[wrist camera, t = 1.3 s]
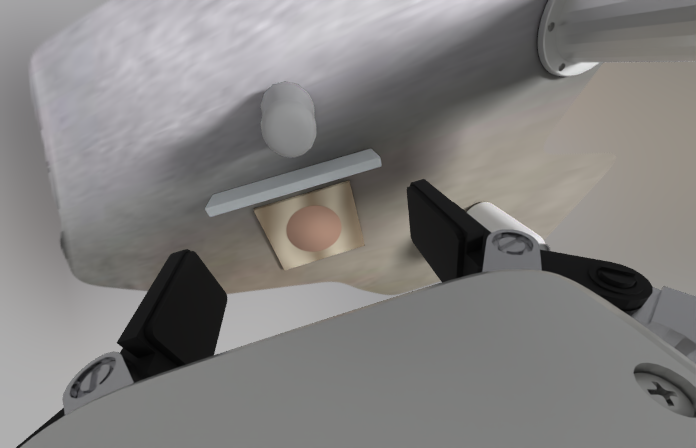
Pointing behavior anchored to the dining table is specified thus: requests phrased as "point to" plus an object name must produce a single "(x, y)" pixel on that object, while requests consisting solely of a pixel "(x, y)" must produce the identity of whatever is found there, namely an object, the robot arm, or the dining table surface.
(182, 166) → the dining table surface
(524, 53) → the dining table surface
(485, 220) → the can
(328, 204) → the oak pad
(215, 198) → the acrylic wall
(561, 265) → the robot arm
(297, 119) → the salt shaker
